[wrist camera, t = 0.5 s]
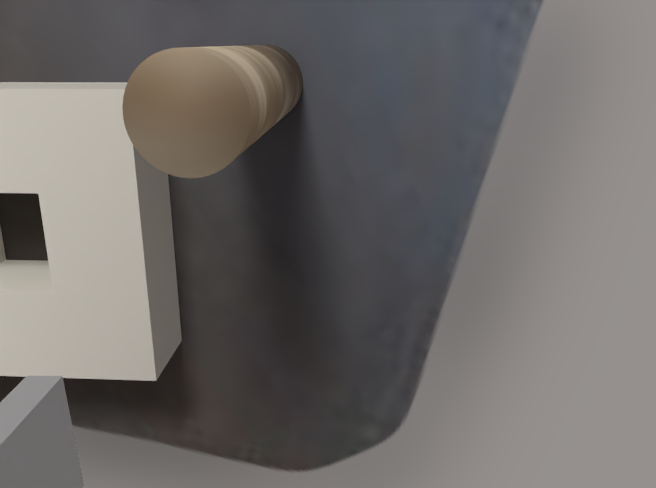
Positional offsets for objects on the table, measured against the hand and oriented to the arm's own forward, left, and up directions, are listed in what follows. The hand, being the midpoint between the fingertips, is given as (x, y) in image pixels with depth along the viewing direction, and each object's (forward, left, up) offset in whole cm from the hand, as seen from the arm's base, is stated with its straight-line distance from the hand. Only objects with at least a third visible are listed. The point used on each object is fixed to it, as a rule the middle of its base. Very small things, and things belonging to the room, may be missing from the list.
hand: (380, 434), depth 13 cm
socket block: (+3, -20, -24) cm, 32 cm away
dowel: (-5, -6, -24) cm, 26 cm away
